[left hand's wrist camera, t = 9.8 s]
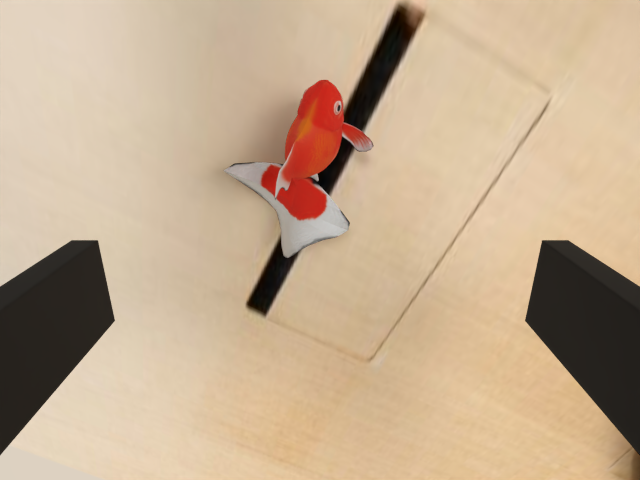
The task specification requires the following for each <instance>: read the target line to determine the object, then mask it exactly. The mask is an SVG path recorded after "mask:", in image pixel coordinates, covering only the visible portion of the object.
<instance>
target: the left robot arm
mask: <svg viewBox="0 0 640 480" xmlns="http://www.w3.org/2000/svg"><path fill="white" fill-rule="evenodd" d="M114 321H115V319H114V315H113V310H112V305H111V301H110V296H109V291H108V286H107V282H106V277H105V272H104V268H103V263H102V258H101V253H100V249H99V244H98V240H72V241H70V242H69V243H67V244H66V245H64V246H62V247H61V248H59V249H58V250H56V251H55V252H53V253H52V254H50V255H49V256H47V257H45V258H44V259H42V260H41V261H39V262H38V263H36V264H35V265H33V266H32V267H30V268H28V269H27V270H25V271H24V272H22V273H21V274H19V275H18V276H16V277H15V278H13V279H11V280H10V281H8V282H7V283H5V284H4V285H2V286H1V287H0V455H1V454H2V452H3V451H4V450H5V449H6V448H7V447H8V445H9V444H10V443H11V442H12V441H13V440H14V438H15V437H16V436H17V435H18V434H19V432H20V431H21V430H22V429H23V428H24V427H25V425H26V424H27V423H28V422H29V421H30V420H31V418H32V417H33V416H34V415H35V414H36V413H37V411H38V410H39V409H40V408H41V407H42V405H43V404H44V403H45V402H46V401H47V400H48V398H49V397H50V396H51V395H52V394H53V393H54V391H55V390H56V389H57V388H58V387H59V386H60V384H61V383H62V382H63V381H64V380H65V379H66V377H67V376H68V375H69V374H70V373H71V371H72V370H73V369H74V368H75V367H76V366H77V364H78V363H79V362H80V361H81V360H82V359H83V357H84V356H85V355H86V354H87V353H88V352H89V350H90V349H91V348H92V347H93V346H94V345H95V343H96V342H97V341H98V340H99V339H100V337H101V336H102V335H103V334H104V333H105V332H106V330H107V329H108V328H109V327H110V326H111V325H112V323H113V322H114ZM525 321H526V322H527V323H528V325H529V326H530V327H531V328H532V329H533V330H534V332H535V333H536V334H537V335H538V336H539V337H540V339H541V340H542V341H543V342H544V343H545V345H546V346H547V347H548V348H549V349H550V350H551V352H552V353H553V354H554V355H555V356H556V357H557V359H558V360H559V361H560V362H561V363H562V364H563V366H564V367H565V368H566V369H567V370H568V371H569V373H570V374H571V375H572V376H573V377H574V379H575V380H576V381H577V382H578V383H579V384H580V386H581V387H582V388H583V389H584V390H585V391H586V393H587V394H588V395H589V396H590V397H591V398H592V400H593V401H594V402H595V403H596V404H597V405H598V407H599V408H600V409H601V410H602V411H603V413H604V414H605V415H606V416H607V417H608V418H609V420H610V421H611V422H612V423H613V424H614V425H615V427H616V428H617V429H618V430H619V431H620V432H621V434H622V435H623V436H624V437H625V438H626V440H627V441H628V442H629V443H630V444H631V445H632V447H633V448H634V449H635V450H636V451H637V452H638V454H639V455H640V287H639V286H638V285H636V284H635V283H633V282H632V281H630V280H629V279H627V278H625V277H624V276H622V275H621V274H619V273H618V272H616V271H615V270H613V269H612V268H610V267H608V266H607V265H605V264H604V263H602V262H601V261H599V260H598V259H596V258H595V257H593V256H591V255H590V254H588V253H587V252H585V251H584V250H582V249H581V248H579V247H578V246H576V245H574V244H573V243H571V242H570V241H568V240H542V244H541V249H540V253H539V258H538V263H537V268H536V272H535V277H534V282H533V286H532V291H531V296H530V301H529V305H528V310H527V315H526V319H525Z"/></svg>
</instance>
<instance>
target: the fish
mask: <svg viewBox="0 0 640 480" xmlns="http://www.w3.org/2000/svg"><path fill="white" fill-rule="evenodd" d="M343 121H344V116H343V100H342V97H341V94H340V93H339V91H338V90H337V88H336V87H335V86H334V85H333V84H332V83H331V82H329V81H328V80H320V81H318V82H317V83H316V84H314V85H313V86H311V87H310V88H308V89H307V90H305V92H304V94H303V99H301V101H300V105H299V108H298V115H297V117H296V119H295V120H294V122H293V124H292V126H291V128H290V130H289V132H288V136H287V139H286V146H285V159H286V162H285V163H284V164H276V163H265V162H254V163H237V164H233V165H232V166H230V167H228V168H227V169H225V170H224V171H225V172H226V173H228V174H229V175H231V176H232V177H234V178H235V179H237V180H238V181H240V182H241V183H243V184H244V185H246V186H247V187H249V188H251V189H252V190H254V191H255V192H256V193H257V194H259V195H260V196H261V197H263V198H264V199H265V200H266V201H267V202H268V203H269V204H270V205H271V206H272V207H273V208H274V209H275V210H276V211H277V215H278V219H279V223H280V228H281V243H282V250H283V254H284V256H285V257H287V258H289V257H291V256H292V255H294V254H295V253H296V252H298V251H300V250H301V249H303V248H305V247H307V246H309V245H311V244H314V243H316V242H319V241H322V240H325V239H330V238H335V237H338V236H339V235H341V234H343V233H344V232H346V231H347V230H348V228H349V224H350V223H349V221H348V220H347V218H346V217H345V216H344V214H343V213H342V211H341V210H340V209H339V207H338V206H337V205H336V203H335V202H334V201H333V200H332V199H331V198H330V196H329V195H328V194H327V193H326V192H325V191H324V190H323V189H322V188H321V187H320V186H319V184H318V183H317V182H316V181H318V180H319V179H318V174H317V173H319V172H321V171H322V170H324V169H325V168H326V167H327V166H328V165H329V164H330V163H331V162H332V161H333V159H334V158H335V157H336V155H337V153H338V150H339V147H340V143H341V139H342V137H343V138H345V139H346V140H348V141H349V142H350V143H351V144H352V145H353V146H354V148H355V149H356V150H357V151H360V152H365V151H368V150H371V149H372V147H373V143H372V141H371V140H370V139H369V138H368V137H367V136H366V135H365V134H364V133H363V132H362V131H361V130H359V129H357V128H356V127H354V126H352V125H349V124H347V123H344V122H343ZM309 177H312V178H313V179H312V178H309ZM314 179H315V180H316V181H315V180H314Z"/></svg>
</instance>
